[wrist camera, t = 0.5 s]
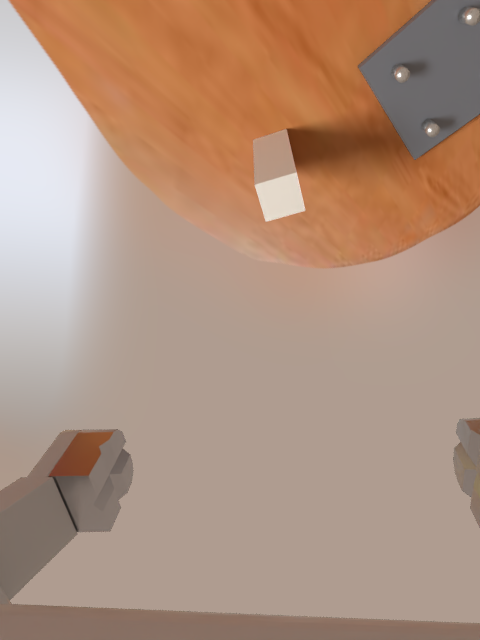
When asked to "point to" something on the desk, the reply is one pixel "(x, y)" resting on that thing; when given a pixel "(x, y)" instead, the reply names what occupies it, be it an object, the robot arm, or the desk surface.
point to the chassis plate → (429, 73)
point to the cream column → (276, 176)
